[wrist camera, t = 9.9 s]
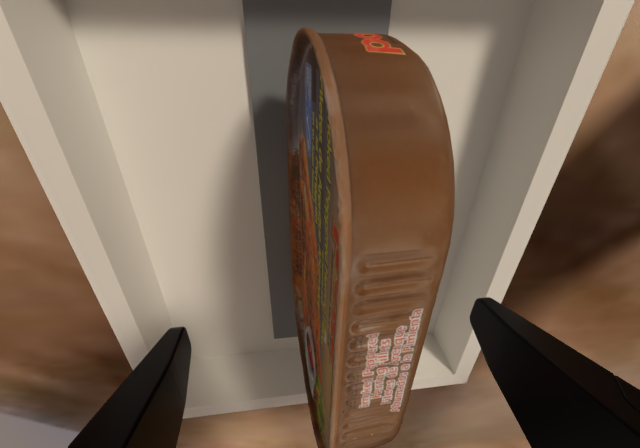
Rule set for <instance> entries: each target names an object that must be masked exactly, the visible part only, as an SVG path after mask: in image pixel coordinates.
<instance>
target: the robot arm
mask: <svg viewBox="0 0 640 448" xmlns="http://www.w3.org/2000/svg"><path fill="white" fill-rule="evenodd" d="M470 323H471V326H472V328H473V330H474V333H475V335H476V338H477V340H478V343H479V345H480V347H481V350H482V352H483V355H484V357H485V360H486V362H487V364H488V366H489V368H490V370H491V372H492V374H493V376H494V378H495V380H496V382H497V384H498V386H499V387H500V389H501V391H502V393H503V395H504V397H505V399H506V401H507V402H508V404H509V406H510V408H511V410H512V412H513V414H514V416H515V417H516V419H517V421H518V423H519V425H520V427H521V429H522V431H523V432H524V434H525V436H526V438H527V440H528V442H529V444H530V446H531V447H532V448H640V390H639V389H637V388H636V387H634V386H632V385H631V384H629V383H627V382H626V381H624V380H623V379H621V378H619V377H618V376H614V374H613V373H611V372H610V371H608V370H606V369H605V368H603V367H602V366H600V365H598V364H597V363H595V362H594V361H592V360H590V359H589V358H587V357H585V356H584V355H582V354H581V353H579V352H577V351H576V350H574V349H573V348H571V347H569V346H568V345H566V344H565V343H563V342H561V341H560V340H558V339H557V338H555V337H553V336H552V335H550V334H549V333H547V332H545V331H544V330H542V329H540V328H539V327H537V326H536V325H534V324H532V323H531V322H529V321H528V320H526V319H524V318H523V317H521V316H520V315H518V314H516V313H515V312H513V311H512V310H510V309H508V308H507V307H505V306H504V305H502V304H500V303H499V302H497V301H495V300H494V299H492V298H490V297H484V298H477V299H476V300H475V303H474V305H473V308H472V311H471V313H470ZM191 350H192V349H191V342H190V339H189V336H188V333H187V330H186V328H185V327H183V326H182V327H172V328H170V329H168V330H167V332H166V333H165V334H164V335H163V336H162V337H161V339H160V340H159V341H158V342H157V343H156V344H155V346H154V347H153V348H152V349H151V350H150V351H149V353H148V354H147V355H146V356H145V357H144V358H143V360H142V361H141V362H140V363H139V364H138V365H137V367H136V368H135V369H134V370H133V371H132V372H131V374H130V375H129V376H128V377H127V378H126V379H125V381H124V382H123V383H122V384H121V385H120V386H119V388H118V389H117V390H116V391H115V392H114V393H113V395H112V396H111V397H110V398H109V399H108V400H107V402H106V403H105V404H104V405H103V406H102V407H101V409H100V410H99V411H98V412H97V413H96V414H95V416H94V417H93V418H92V419H91V420H90V421H89V423H88V424H87V425H86V426H85V427H84V428H83V430H82V431H81V432H80V433H79V434H78V435H77V437H76V438H75V439H74V440H73V441H72V442H71V444H70V445H69V446H68V448H176V445H177V440H178V436H179V432H180V427H181V423H182V418H183V414H184V409H185V403H186V396H187V387H188V378H189V369H190V361H191Z"/></svg>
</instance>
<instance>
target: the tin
mask: <svg viewBox="0 0 640 448" xmlns="http://www.w3.org/2000/svg"><path fill="white" fill-rule="evenodd" d="M286 122H287V162H288V185H289V212H290V237H291V263H292V284H293V294H294V307H295V317H296V326H297V334H298V341H299V348H300V355H301V361H302V367H303V374H304V382H305V388H306V393H307V400H308V405H309V409H310V415H311V420H312V425H313V429H314V434H315V437H316V442H317V446H318V448H373V447H377V446H380V445H383V444H386V443H388V442H390V441H391V440H392V439H393V438H394V437H395V436H396V434H397V433H398V431H399V429H400V426H401V424H402V420H403V416H404V413H405V409H406V405H407V403H408V399H409V396H410V391H411V388H412V385H413V381H414V377H415V374H416V370H417V366H418V363H419V359H420V356H421V352H422V348H423V345H424V341H425V338H426V334H427V330H428V327H429V323H430V319H431V315H432V311H433V308H434V305H435V301H436V297H437V293H438V290H439V286H440V282H441V279H442V276H443V272H444V268H445V264H446V260H447V256H448V252H449V248H450V243H451V235H452V227H453V220H454V208H455V174H454V158H453V151H452V144H451V137H450V131H449V126H448V121H447V116H446V113H445V109H444V106H443V103H442V99H441V96H440V94H439V91H438V89H437V86H436V84H435V81H434V79H433V76H432V74H431V72H430V70H429V68H428V66H427V65H426V64H425V62H424V61H423V60H422V59H421V57H420V56H419V55H418V54H416V53H415V52H414V51H413V50H411V49H410V48H409V47H408V46H406V45H405V44H404V43H402V42H401V41H399V40H397V39H396V38H394V37H391V36H389V35H385V34H375V33H316V32H315V31H314V30H313V29H311V28H307V27H303V28H300V29H299V30H298V31H297V33H296V35H295V38H294V41H293V45H292V51H291V56H290V62H289V68H288V76H287V88H286Z"/></svg>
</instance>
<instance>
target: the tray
mask: <svg viewBox="0 0 640 448" xmlns="http://www.w3.org/2000/svg"><path fill="white" fill-rule="evenodd" d="M634 1H635V0H0V101H1V103H2V106H3V108H4V110H5V112H6V114H7V116H8V118H9V120H10V122H11V124H12V126H13V128H14V130H15V132H16V134H17V136H18V138H19V140H20V142H21V144H22V146H23V148H24V150H25V152H26V154H27V156H28V158H29V160H30V162H31V164H32V167H33V169H34V171H35V173H36V175H37V177H38V179H39V181H40V183H41V185H42V187H43V189H44V191H45V193H46V195H47V197H48V199H49V201H50V203H51V205H52V207H53V209H54V211H55V213H56V215H57V217H58V219H59V221H60V223H61V226H62V228H63V230H64V232H65V234H66V236H67V238H68V240H69V242H70V244H71V246H72V248H73V250H74V252H75V254H76V256H77V258H78V260H79V262H80V264H81V266H82V268H83V270H84V272H85V274H86V276H87V278H88V280H89V282H90V284H91V287H92V289H93V291H94V293H95V295H96V297H97V299H98V301H99V303H100V305H101V307H102V309H103V311H104V313H105V315H106V317H107V319H108V321H109V323H110V325H111V327H112V329H113V331H114V333H115V335H116V337H117V339H118V341H119V343H120V346H121V348H122V350H123V352H124V354H125V356H126V358H127V360H128V362H129V364H130V366H131V368H132V370H134V369H135V368H136V367H137V365H138V364H139V363H140V362H141V361H142V360H143V358H144V357H145V356H146V355H147V354H148V353H149V351H150V350H151V349H152V348H153V347H154V346H155V344H156V343H157V342H158V341H159V340H160V339H161V337H162V336H163V335H164V334H165V333H166V332H167V330H168V329H170V328H172V327H182V326H183V327H185V328H186V330H187V333H188V336H189V339H190V342H191V349H192V350H191V361H190V369H189V378H188V387H187V396H186V403H185V409H184V414H183V418H182V419H185V418H193V417H201V416H209V415H217V414H224V413H232V412H240V411H248V410H256V409H264V408H272V407H280V406H288V405H295V404H303V403H308V400H307V393H306V388H305V382H304V374H303V367H302V361H301V355H300V348H299V341H298V334H297V326H296V317H295V307H294V294H293V284H292V263H291V237H290V212H289V185H288V162H287V122H286V88H287V76H288V68H289V62H290V56H291V51H292V45H293V41H294V38H295V35H296V33H297V31H298V30H299V29H300V28H303V27H307V28H311V29H313V30H314V31H315V32H316V33H375V34H385V35H389V36H391V37H394V38H396V39H397V40H399V41H401V42H402V43H404V44H405V45H406V46H408V47H409V48H410V49H411V50H413V51H414V52H415V53H416V54H418V55H419V56H420V57H421V59H422V60H423V61H424V62H425V64H426V65H427V66H428V68H429V70H430V72H431V74H432V76H433V79H434V81H435V84H436V86H437V89H438V91H439V94H440V96H441V99H442V103H443V106H444V109H445V113H446V116H447V121H448V126H449V131H450V137H451V144H452V151H453V158H454V174H455V208H454V220H453V227H452V235H451V243H450V248H449V252H448V256H447V260H446V264H445V268H444V272H443V276H442V279H441V282H440V286H439V290H438V293H437V297H436V301H435V305H434V308H433V311H432V315H431V319H430V323H429V327H428V330H427V334H426V338H425V341H424V345H423V348H422V352H421V356H420V359H419V363H418V366H417V370H416V374H415V377H414V381H413V385H412V388H411V390H414V389H421V388H429V387H437V386H445V385H453V384H461V383H466V382H467V380H468V377H469V375H470V373H471V371H472V368H473V366H474V364H475V362H476V359H477V357H478V355H479V352H480V350H481V347H480V345H479V343H478V340H477V338H476V335H475V333H474V330H473V328H472V326H471V323H470V313H471V311H472V308H473V305H474V303H475V300H476V299H477V298H484V297H490V298H492V299H494V300H495V301H497V302H499V303H500V304H501V303H502V300H503V298H504V296H505V293H506V291H507V289H508V287H509V284H510V282H511V280H512V278H513V275H514V273H515V271H516V269H517V266H518V264H519V262H520V259H521V257H522V255H523V253H524V250H525V248H526V246H527V244H528V241H529V239H530V237H531V235H532V232H533V230H534V228H535V225H536V223H537V221H538V219H539V216H540V214H541V212H542V210H543V207H544V205H545V203H546V200H547V198H548V196H549V194H550V191H551V189H552V187H553V185H554V182H555V180H556V178H557V176H558V173H559V171H560V169H561V166H562V164H563V162H564V160H565V157H566V155H567V153H568V151H569V148H570V146H571V144H572V142H573V139H574V137H575V135H576V132H577V130H578V128H579V126H580V123H581V121H582V119H583V117H584V114H585V112H586V110H587V107H588V105H589V103H590V101H591V98H592V96H593V94H594V92H595V89H596V87H597V85H598V83H599V80H600V78H601V76H602V73H603V71H604V69H605V67H606V64H607V62H608V60H609V58H610V55H611V53H612V51H613V49H614V46H615V44H616V42H617V39H618V37H619V35H620V33H621V30H622V28H623V26H624V24H625V21H626V19H627V17H628V14H629V12H630V10H631V8H632V5H633V3H634Z"/></svg>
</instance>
